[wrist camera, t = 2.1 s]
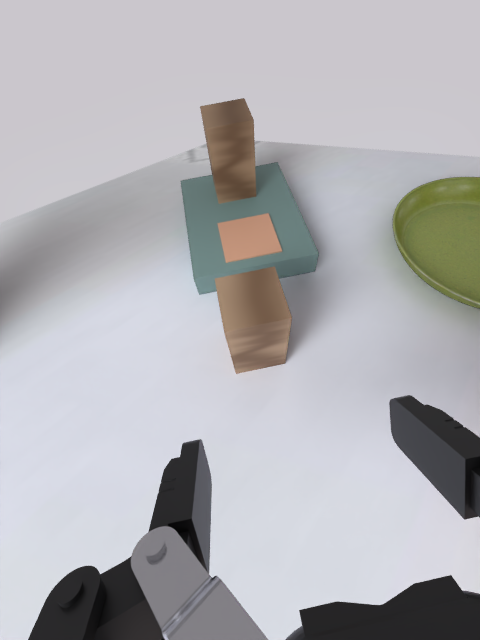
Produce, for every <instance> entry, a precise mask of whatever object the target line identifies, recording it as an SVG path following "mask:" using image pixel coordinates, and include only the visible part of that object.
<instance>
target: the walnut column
mask: <svg viewBox="0 0 480 640" xmlns="http://www.w3.org/2000/svg"><path fill="white" fill-rule="evenodd" d="M200 108H201V114H202V119H203V125H204V131H205V135H206V142H207V148H208V153H209V159H210V165H211V170H212V176H213V182H214V186H215V190H216V194H217V199H218V203H219V204H221V203H226V202H231V201H236V200H241V199H246V198H252V197H256V174H255V147H254V120H253V117H252V116H251V113H250V111H249V108H248V106H247V104H246V101H245V99H244V98H243V99H238V100H232V101H227V102H222V103H216V104H211V105H205V106H201V107H200Z"/></svg>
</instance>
